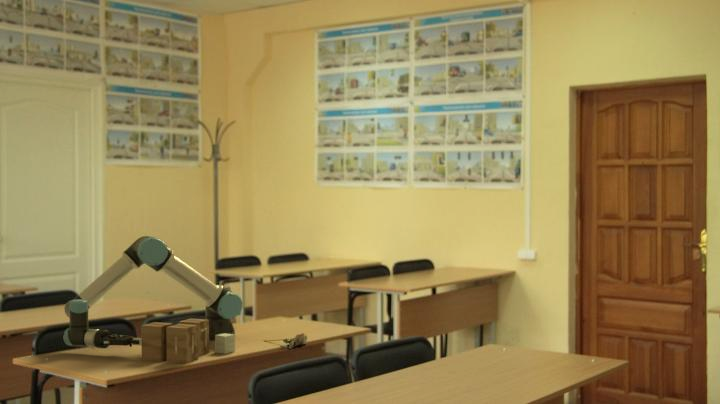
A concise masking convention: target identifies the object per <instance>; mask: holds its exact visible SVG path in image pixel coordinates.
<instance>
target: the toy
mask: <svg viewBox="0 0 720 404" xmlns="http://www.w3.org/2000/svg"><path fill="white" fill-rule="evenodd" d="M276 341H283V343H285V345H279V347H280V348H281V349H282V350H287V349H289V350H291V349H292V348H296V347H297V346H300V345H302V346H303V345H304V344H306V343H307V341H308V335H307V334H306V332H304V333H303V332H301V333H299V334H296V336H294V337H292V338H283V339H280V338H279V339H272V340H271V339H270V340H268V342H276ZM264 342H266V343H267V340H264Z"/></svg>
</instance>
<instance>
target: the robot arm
mask: <svg viewBox="0 0 720 404" xmlns="http://www.w3.org/2000/svg"><path fill="white" fill-rule="evenodd" d="M144 264H145V265H146V266H148V267H150V268H151V269H152V270H154V271H155V272H157V273H158V272H163V273H164V274H165V275H167V276H168V277H170V278H171V279H173V280H174V281H176V282H177V283H178V284H180V285H181V286H183V287H184V288H186V289H187V290H188V291H190V292H191V293H193V294H194V295H196V296H197V297H199V298H200V299H201V300H203V301H204V304H205V319H207V320H209V340H215V335H219V334H224V333H226V334H234V335H235V336H236V332H235V327H234V324H232V321H231V319H232V318H235V317H236V318H237V317H238V316H239V315H240V314H241V312H242V310H243V305H244V304H243V300H242V298H241V296H240V295H239V294H237V293H235V292H232V289H231V286H224V285H223V284H215V283H214V282H212V281H211V280H210V279H209V278H207V277H206V276H204V275H203V274H201V273H200V272H199V271H197V270H196V269H194V268H193V267H192V266H191V265H189V264H187V263H186V262H184V261H183V260H181V259H180V258H179V257H177V256H176V255H175V253H174V250H173V249H172V248H171V247H170V246H168V245H166V243H165V242H164V241H163V240H162V239H160V238H158V237H155V236H149V235H144V236H140V237H139V238H137V239H136V240H135V241H134V242H133V243H131V245H129V246H128V247H127V249H125V250H124V251H123V252H122V256H121V257H120V258H119V259H117V261H115V262H114V263H113V264H112V265H111V266H110V267H108V268H106V270H105V271H103V273H101V274H100V275H99V276H97V278H96V279H94V280H93V281H92V283H90V284H89V285H88V286H87V287H86V288H84V289H83V290H82V291H81V292H80V293H79V294H78V295H76V296H75V297H74V298H73V299H71V300H68V301H67V302H66V303H65V305H64V314H65V315H66V316H67V317H68V318H69V327H67V328H66V329H65V330H64V334H63V336H62V337H63V339H62V340H63V342H64V343H65V345H66V346H70V347H76V348H77V347H79V348H80V347H82V348H91V350H94V349H95V348H96V349H97V348H98V349H107V348H109V347H110V346H124V347H125V346H126V347H127V346H129V347H130V348H131V347H133V346H141V347H142V337H137V336H136V335H132V336H131V335H125V334H116V333H115V334H111V332H110V331H109V330H107V329H98V328H97V329H93V328H89V309H91V307H93V306H94V305H95V304H96V303H97V302H99V301H100V299H102V298H103V297H104V296H105V295H106V294H107V293H109V291H111V290H112V289H113V288H114V287H116V285H118V284H119V283H120V282H122V280H123V279H124V278H125V277H127V276H128V275H129V274H130V273H131V272H132V271H134V269H135V270H137V269H140V267H142V266H143V265H144Z"/></svg>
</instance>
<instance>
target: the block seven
mask: <svg viewBox="0 0 720 404" xmlns="http://www.w3.org/2000/svg"><path fill="white" fill-rule="evenodd" d="M178 324H191V325H198V358H199V357H201V356H205V355H208V354H209V353H210V339H209V320H207V319H206V318H205V319H202V318H187V319H183V320H180V321H178Z"/></svg>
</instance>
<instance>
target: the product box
mask: <svg viewBox="0 0 720 404" xmlns="http://www.w3.org/2000/svg"><path fill="white" fill-rule="evenodd" d="M214 352H215V353H219V354H223V355H224V354H229V353H233V352H236V334H235V335H234V334H226V333H224V334H219V335H215V339H214Z"/></svg>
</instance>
